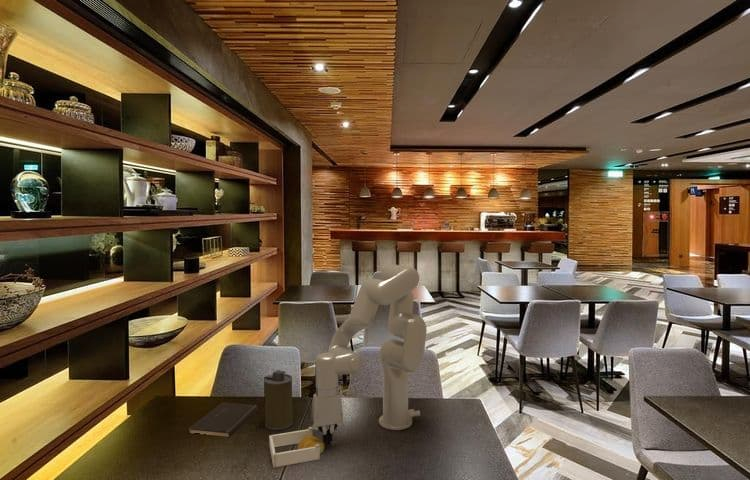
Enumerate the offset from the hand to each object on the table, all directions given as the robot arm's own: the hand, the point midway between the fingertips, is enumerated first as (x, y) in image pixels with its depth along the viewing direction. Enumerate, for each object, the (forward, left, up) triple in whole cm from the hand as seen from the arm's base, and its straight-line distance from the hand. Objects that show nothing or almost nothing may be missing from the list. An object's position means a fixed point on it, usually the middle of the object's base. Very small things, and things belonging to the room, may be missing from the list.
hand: (327, 443), depth 148 cm
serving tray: (+11, 0, -1) cm, 11 cm away
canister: (+14, -23, -1) cm, 27 cm away
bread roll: (+6, 0, -2) cm, 6 cm away
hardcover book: (+33, -32, -2) cm, 46 cm away
